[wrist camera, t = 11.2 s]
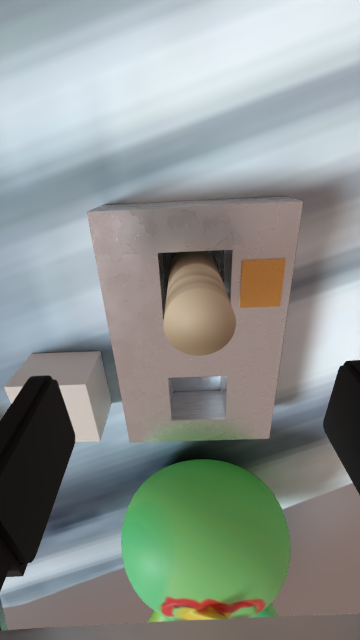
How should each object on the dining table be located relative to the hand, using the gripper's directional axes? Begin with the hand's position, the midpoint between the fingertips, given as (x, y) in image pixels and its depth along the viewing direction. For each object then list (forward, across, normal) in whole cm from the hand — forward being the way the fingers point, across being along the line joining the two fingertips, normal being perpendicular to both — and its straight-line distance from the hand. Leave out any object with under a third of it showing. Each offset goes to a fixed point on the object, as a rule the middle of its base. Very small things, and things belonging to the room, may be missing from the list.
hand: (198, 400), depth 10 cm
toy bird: (+16, -1, +30) cm, 34 cm away
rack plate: (+16, -1, +7) cm, 18 cm away
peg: (+16, -1, +1) cm, 16 cm away
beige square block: (+16, +12, +13) cm, 24 cm away
